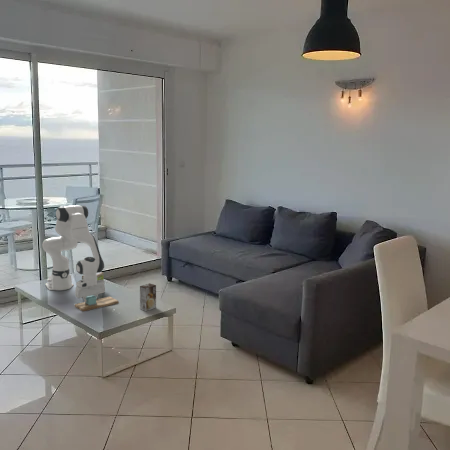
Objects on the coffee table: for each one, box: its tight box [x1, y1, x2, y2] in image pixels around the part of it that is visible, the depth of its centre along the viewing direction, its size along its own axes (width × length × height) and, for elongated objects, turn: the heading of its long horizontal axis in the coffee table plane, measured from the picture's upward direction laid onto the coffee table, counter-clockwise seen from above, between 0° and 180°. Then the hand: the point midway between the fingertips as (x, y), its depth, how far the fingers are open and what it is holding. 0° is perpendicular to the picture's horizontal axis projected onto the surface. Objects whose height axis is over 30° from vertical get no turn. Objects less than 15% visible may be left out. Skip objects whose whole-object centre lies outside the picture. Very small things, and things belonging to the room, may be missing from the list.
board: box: [74, 296, 120, 312], centre depth 308 cm, size 12×26×2 cm, turn 134°
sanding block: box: [85, 295, 96, 306], centre depth 304 cm, size 6×5×5 cm
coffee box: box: [139, 283, 157, 312], centre depth 303 cm, size 9×6×16 cm
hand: (90, 301), depth 305 cm, fingers closed on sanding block, 5 cm apart
